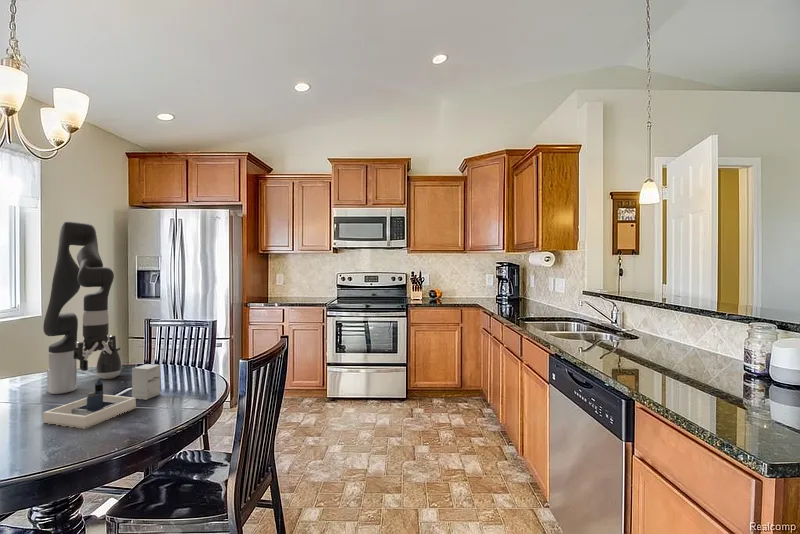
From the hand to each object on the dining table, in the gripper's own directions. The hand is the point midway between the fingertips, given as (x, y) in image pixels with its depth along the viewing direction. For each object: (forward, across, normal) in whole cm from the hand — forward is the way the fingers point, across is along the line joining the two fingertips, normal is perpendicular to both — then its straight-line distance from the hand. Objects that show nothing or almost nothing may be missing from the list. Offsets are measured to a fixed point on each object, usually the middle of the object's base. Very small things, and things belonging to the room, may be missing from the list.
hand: (95, 367), depth 149 cm
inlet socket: (+18, 0, 0) cm, 18 cm away
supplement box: (+18, -22, 0) cm, 28 cm away
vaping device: (+17, 0, 0) cm, 17 cm away
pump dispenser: (+19, -40, -39) cm, 59 cm away
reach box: (+18, 0, -2) cm, 18 cm away
